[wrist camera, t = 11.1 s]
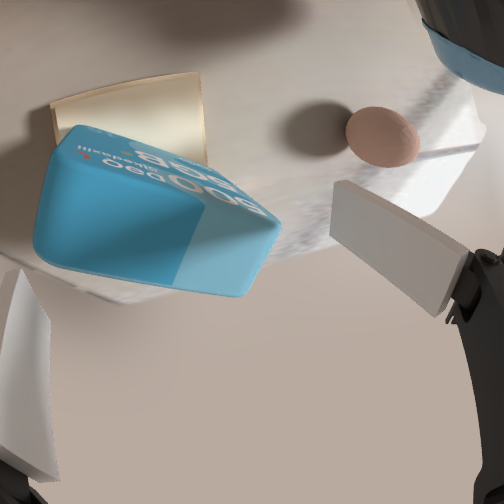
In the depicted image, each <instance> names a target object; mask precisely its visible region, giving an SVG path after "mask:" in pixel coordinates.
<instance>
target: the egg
mask: <svg viewBox="0 0 504 504" xmlns="http://www.w3.org/2000/svg"><path fill="white" fill-rule="evenodd" d="M345 134H346V139H347V142H348V144H349V146H350V148H351V150H352V151H353V152H354V153H355V154H356V155H357V156H358V157H359V158H360V159H362V160H364V161H366V162H367V163H369V164H372V165H375V166H378V167H385V168H392V167H400V166H403V165H406V164H408V163H410V162H412V161H413V160H414V159H415V158H416V157H417V155H418V153H419V151H420V139H419V136H418V134H417V132H416V130H415V128H414V127H413V126H412V125H411V124H410V122H409V121H408V120H406V119H405V118H404V117H403V116H401V115H400V114H398V113H397V112H395V111H392V110H389V109H386V108H383V107H366V108H363V109H361V110H359V111H357V112H355V113H354V114H353V115H352V116H351V117H350V119H349V120H348V122H347V125H346V132H345Z"/></svg>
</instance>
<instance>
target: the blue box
mask: <svg viewBox="0 0 504 504" xmlns="http://www.w3.org/2000/svg"><path fill="white" fill-rule="evenodd" d="M281 229H282V224H281V222H280V221H279V220H278V219H277V218H276V217H275V216H273V215H272V214H271V213H270V212H268V211H267V210H266V209H265V208H263V207H262V206H261V205H260V204H258V203H257V202H256V201H254V200H253V199H252V198H251V197H249V196H248V195H247V194H246V193H244V192H243V191H242V190H240V189H239V188H238V187H236V186H235V185H234V184H233V183H231V182H230V181H229V180H227V179H226V178H225V177H223V176H222V175H221V174H220V173H218V172H217V171H215V170H213V169H211V168H209V167H207V166H205V165H203V164H200V163H198V162H195V161H192V160H189V159H187V158H184V157H181V156H179V155H176V154H173V153H170V152H167V151H164V150H162V149H159V148H156V147H153V146H150V145H147V144H144V143H141V142H138V141H135V140H132V139H129V138H126V137H123V136H120V135H117V134H114V133H111V132H107V131H104V130H101V129H98V128H94V127H91V126H86V125H75V126H74V127H73V128H72V129H71V130H70V131H69V132H68V133H67V135H66V136H65V137H64V138H63V139H62V141H61V142H60V143H59V144H58V145H57V147H56V148H55V149H54V150H53V152H52V154H51V157H50V161H49V164H48V168H47V172H46V176H45V180H44V184H43V188H42V192H41V197H40V202H39V206H38V212H37V217H36V222H35V228H34V235H33V248H34V250H35V252H36V253H37V255H38V256H39V257H40V258H41V259H42V260H44V261H45V262H47V263H48V264H50V265H53V266H55V267H58V268H62V269H67V270H72V271H77V272H82V273H87V274H92V275H97V276H102V277H108V278H113V279H119V280H124V281H130V282H136V283H141V284H147V285H153V286H159V287H166V288H172V289H178V290H185V291H191V292H198V293H205V294H212V295H220V296H227V297H241V296H244V295H245V294H246V293H247V292H248V290H249V288H250V287H251V285H252V283H253V281H254V279H255V277H256V276H257V274H258V272H259V270H260V268H261V266H262V264H263V263H264V261H265V259H266V257H267V255H268V253H269V251H270V249H271V248H272V246H273V244H274V242H275V240H276V238H277V236H278V235H279V233H280V231H281Z"/></svg>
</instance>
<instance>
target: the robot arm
mask: <svg viewBox="0 0 504 504" xmlns="http://www.w3.org/2000/svg"><path fill="white" fill-rule="evenodd" d="M416 3H417V5H418V8H419V10H420V13H421V15H422V23H423V26H424V27H425V28H426V30H427V31H428V33H429V36H430V38H431V41H432V44H433V46H434V49H435V52H436V54H437V56H438V58H439V59H440V61H441V62H442V63H443V65H444V66H445V67H447V68H448V69H449V70H450V71H451V72H452V73H454V74H455V75H457V76H458V77H460V78H462V79H464V80H466V81H467V82H469V83H471V84H473V85H475V86H478V87H480V88H483V89H485V90H488V91H491V92H494V93H498V94H501V95H504V0H416ZM329 235H330V236H331V237H332V238H334V239H335V240H336V241H338V242H339V243H340V244H342V245H343V246H344V247H346V248H347V249H348V250H350V251H351V252H352V253H354V254H355V255H356V256H358V257H359V258H360V259H362V260H363V261H364V262H366V263H367V264H368V265H369V266H371V267H372V268H374V269H375V270H376V271H377V272H378V273H380V274H381V275H382V276H384V277H385V278H386V279H387V280H389V281H390V282H391V283H392V284H394V285H395V286H396V287H398V288H399V289H400V290H401V291H402V292H404V293H405V294H406V295H407V296H409V297H410V298H411V299H412V300H413V301H415V302H416V303H417V304H418V305H420V306H421V307H422V308H423V309H424V310H425V311H427V312H428V313H429V314H430V315H431V316H433V317H434V318H435V317H437V316H438V315H439V314H440V313H442V312H443V311H444V310H445V308H446V306H447V304H448V302H449V300H450V298H452V299H454V300H455V302H454V303H453V306H452V308H451V310H450V312H449V314H448V316H447V318H446V324H448V323H449V321H450V319H451V317H452V316H454V318H453V320H452V322H451V324H457V325H458V328H459V332H460V336H461V339H462V343H463V347H464V350H465V354H466V358H467V362H468V366H469V371H470V376H471V380H472V385H473V390H474V395H475V401H476V407H477V413H478V420H479V428H480V437H481V447H482V459H483V464H482V469H481V471H480V473H479V474H478V476H477V478H476V481H475V483H474V495H473V496H474V497H473V504H504V248H503V251H502V253H501V255H500V256H497V255H495V254H494V253H492V252H490V251H488V250H485V249H478V250H476V251H475V254H474V253H472V252H470V250H469V249H468V248H466V247H465V246H463V245H462V244H460V243H458V242H457V241H456V240H454V239H452V238H451V237H449V236H448V235H446V234H444V233H443V232H441V231H439V230H438V229H436V228H435V227H433V226H431V225H430V224H428V223H426V222H425V221H423V220H421V219H420V218H418V217H416V216H414V215H413V214H411V213H409V212H407V211H406V210H404V209H402V208H400V207H398V206H397V205H395V204H393V203H391V202H389V201H387V200H386V199H384V198H382V197H380V196H378V195H376V194H374V193H372V192H370V191H368V190H366V189H364V188H362V187H360V186H359V185H357V184H354V183H352V182H350V181H348V180H342V181H337V182H334V191H333V203H332V214H331V224H330V233H329ZM50 331H51V322H50V320H49V318H48V317H47V315H46V313H45V311H44V310H43V308H42V306H41V304H40V303H39V301H38V299H37V297H36V295H35V293H34V291H33V290H32V288H31V286H30V284H29V282H28V280H27V278H26V276H25V274H24V272H23V269H22V267H20V268H18V269H15V270H12V271H9V272H7V273H6V274H5V276H4V279H3V282H2V285H1V288H0V504H48V503H47V502H46V501H45V500H44V499H43V498H42V497H41V496H40V495H39V493H38V492H37V491H36V490H35V489H33V488H32V487H31V486H29V483H28V477H30V478H31V479H33V480H35V481H37V482H39V483H44V482H55V481H60V478H59V473H58V467H57V461H56V455H55V448H54V439H53V430H52V420H51V406H50V380H49V359H50V356H49V355H50Z"/></svg>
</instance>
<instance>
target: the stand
mask: <svg viewBox="0 0 504 504" xmlns="http://www.w3.org/2000/svg"><path fill="white" fill-rule="evenodd" d="M50 109H51V116H52V122H53V127H54V133H55V138H56V143H57V145H58V144H59V143H60V142H61V141H62V139H63V138H64V137H65V136H66V135H67V133H68V132H69V131H70V130H71V129H72V128H73V127H74V126H75V125H86V126H91V127H94V128H98V129H101V130H104V131H107V132H111V133H114V134H117V135H120V136H123V137H126V138H129V139H132V140H135V141H138V142H141V143H144V144H147V145H150V146H153V147H156V148H159V149H162V150H164V151H167V152H170V153H173V154H176V155H179V156H181V157H184V158H187V159H189V160H192V161H195V162H198V163H200V164H203V165H205V166H207V167H208V160H207V150H206V139H205V128H204V117H203V105H202V93H201V79H200V71H196V72H187V73H179V74H171V75H164V76H158V77H152V78H146V79H140V80H135V81H130V82H125V83H121V84H116V85H112V86H107V87H103V88H99V89H95V90H92V91H88V92H84V93H81V94H77V95H74V96H71V97H67V98H64V99H61V100H58V101H55V102H52V103H50Z"/></svg>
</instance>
